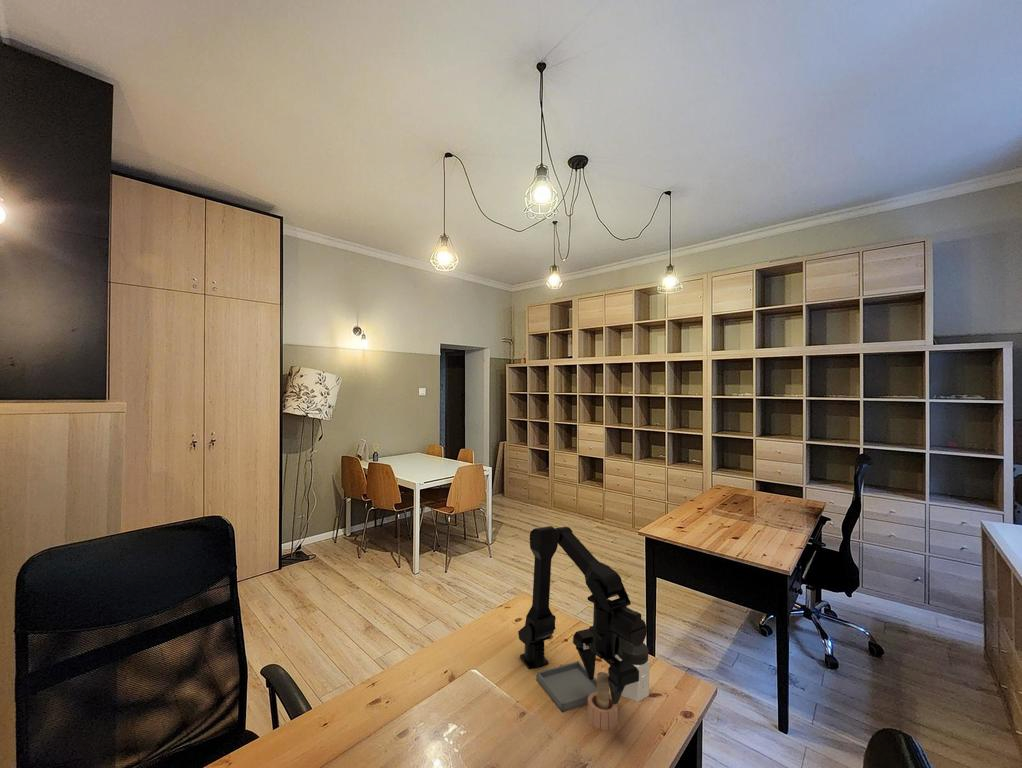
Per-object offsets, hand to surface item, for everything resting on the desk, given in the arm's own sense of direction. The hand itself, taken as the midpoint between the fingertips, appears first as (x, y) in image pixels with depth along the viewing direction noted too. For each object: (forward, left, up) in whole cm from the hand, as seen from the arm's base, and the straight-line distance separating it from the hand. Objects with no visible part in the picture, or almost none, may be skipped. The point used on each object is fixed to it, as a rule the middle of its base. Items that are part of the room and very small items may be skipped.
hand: (602, 690), depth 100 cm
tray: (-12, -1, -7) cm, 14 cm away
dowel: (0, 0, -6) cm, 6 cm away
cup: (0, 0, -7) cm, 7 cm away
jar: (-5, +14, -7) cm, 17 cm away
